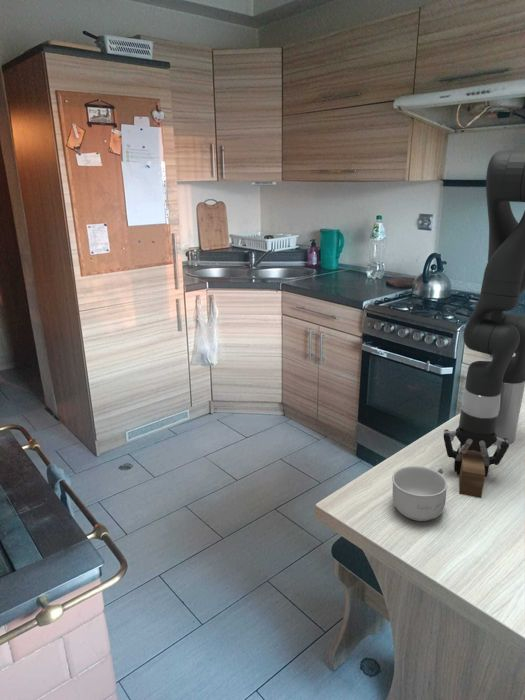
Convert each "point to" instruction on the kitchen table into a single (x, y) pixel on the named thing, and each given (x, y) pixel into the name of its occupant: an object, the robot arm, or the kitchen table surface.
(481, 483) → the walnut beam
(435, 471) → the teacup
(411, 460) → the kitchen table surface
